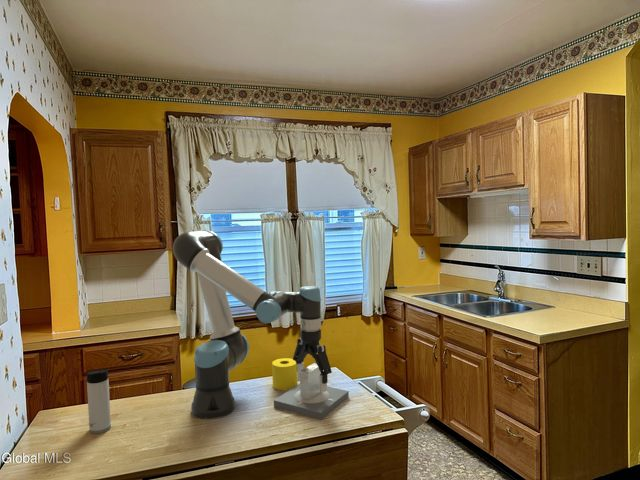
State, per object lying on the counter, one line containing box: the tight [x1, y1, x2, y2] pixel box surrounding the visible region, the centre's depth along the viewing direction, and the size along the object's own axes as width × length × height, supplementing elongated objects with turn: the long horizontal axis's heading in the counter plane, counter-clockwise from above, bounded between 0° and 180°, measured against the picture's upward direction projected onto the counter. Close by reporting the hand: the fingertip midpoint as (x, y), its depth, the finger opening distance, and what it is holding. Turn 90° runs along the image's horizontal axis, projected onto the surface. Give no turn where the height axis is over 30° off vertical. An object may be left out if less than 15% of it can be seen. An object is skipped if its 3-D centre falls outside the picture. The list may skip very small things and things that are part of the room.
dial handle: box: [299, 362, 321, 400], centre depth 159 cm, size 10×4×10 cm, turn 149°
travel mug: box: [86, 368, 112, 435], centre depth 141 cm, size 6×7×20 cm
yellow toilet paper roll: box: [271, 357, 298, 391], centre depth 175 cm, size 10×10×9 cm
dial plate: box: [273, 383, 350, 421], centre depth 159 cm, size 20×20×3 cm
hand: (311, 385), depth 159 cm, fingers open, 13 cm apart
